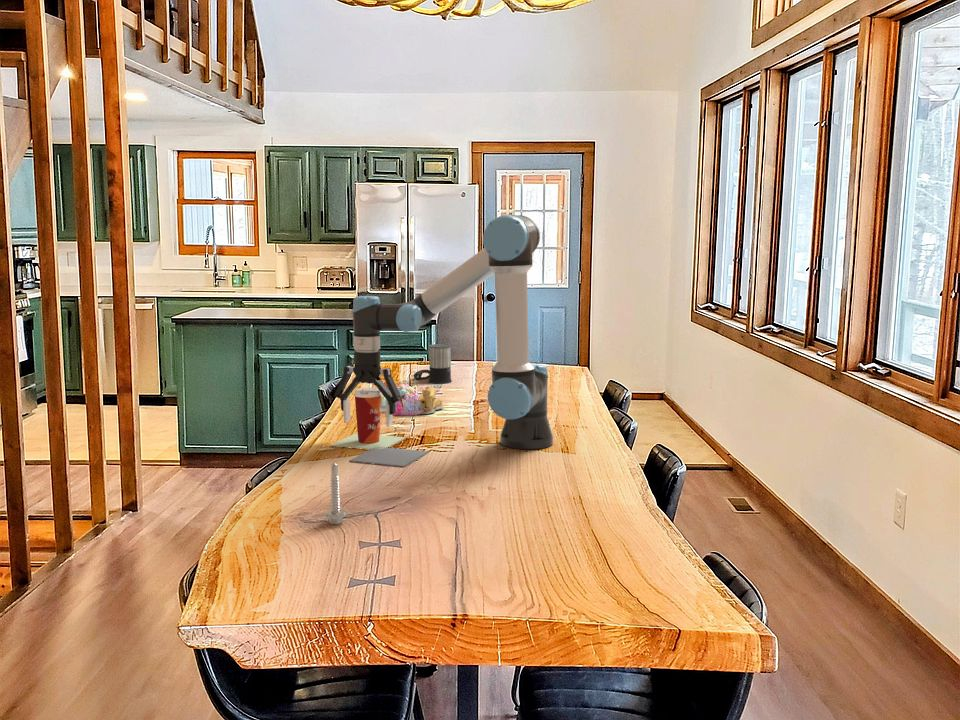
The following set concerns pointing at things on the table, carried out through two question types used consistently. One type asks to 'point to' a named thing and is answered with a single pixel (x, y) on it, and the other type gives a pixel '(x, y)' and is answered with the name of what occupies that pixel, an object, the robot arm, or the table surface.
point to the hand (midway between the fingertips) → (368, 423)
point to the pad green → (354, 443)
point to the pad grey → (390, 456)
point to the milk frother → (437, 364)
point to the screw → (335, 499)
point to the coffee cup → (368, 414)
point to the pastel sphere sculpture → (414, 401)
